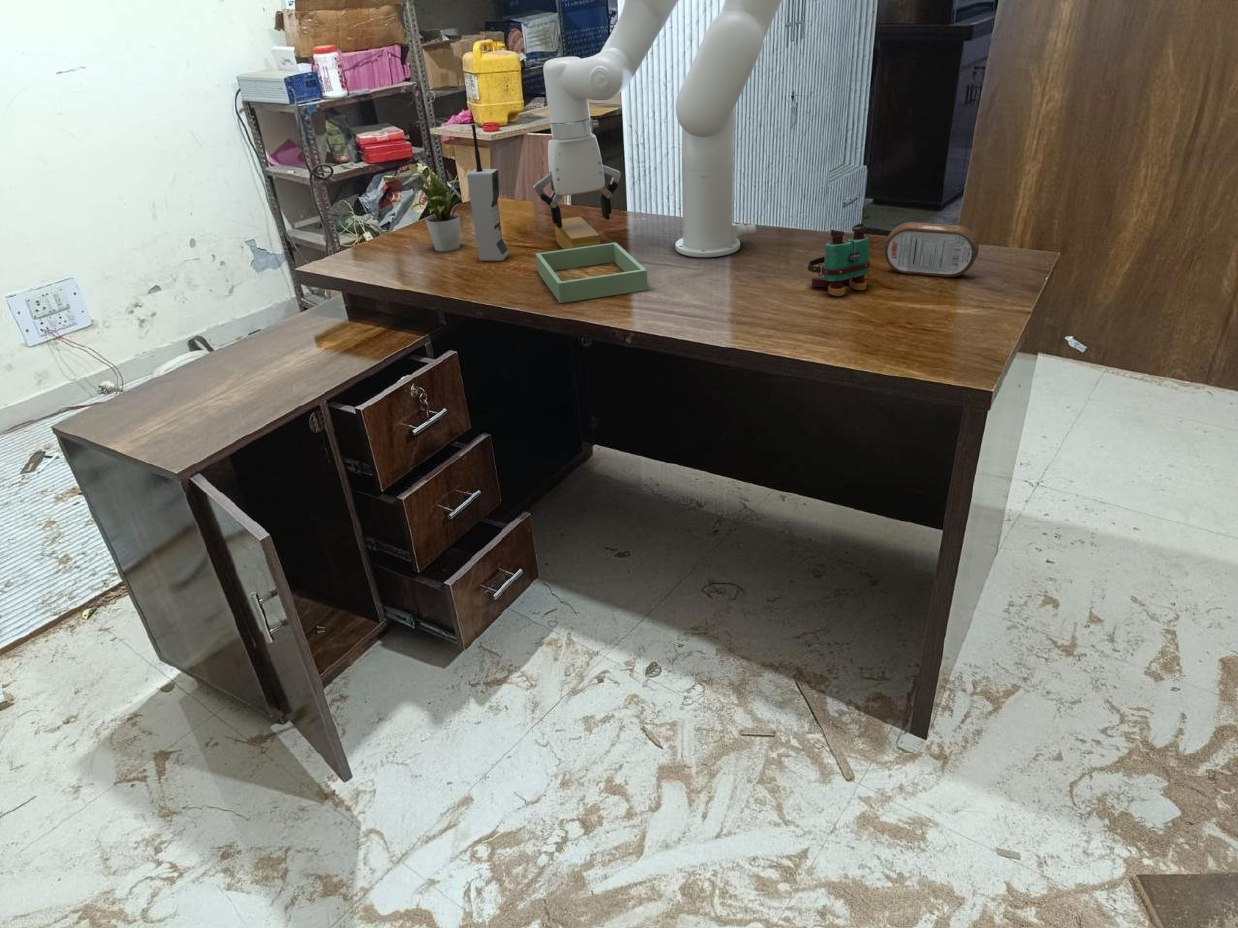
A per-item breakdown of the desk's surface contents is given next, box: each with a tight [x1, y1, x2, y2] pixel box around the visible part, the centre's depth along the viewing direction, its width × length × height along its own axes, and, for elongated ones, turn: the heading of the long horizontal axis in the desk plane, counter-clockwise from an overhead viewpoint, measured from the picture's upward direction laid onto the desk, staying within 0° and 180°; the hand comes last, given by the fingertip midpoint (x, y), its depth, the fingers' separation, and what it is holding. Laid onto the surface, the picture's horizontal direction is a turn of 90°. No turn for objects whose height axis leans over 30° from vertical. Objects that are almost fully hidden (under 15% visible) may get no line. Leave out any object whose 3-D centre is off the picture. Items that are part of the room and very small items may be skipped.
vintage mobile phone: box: [466, 123, 509, 262], centre depth 159 cm, size 4×5×25 cm
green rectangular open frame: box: [535, 241, 649, 304], centre depth 150 cm, size 16×19×4 cm
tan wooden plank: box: [554, 216, 601, 250], centre depth 167 cm, size 6×15×4 cm, turn 17°
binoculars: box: [807, 222, 871, 297], centre depth 138 cm, size 9×11×10 cm
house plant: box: [402, 166, 470, 252], centre depth 170 cm, size 14×14×16 cm
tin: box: [883, 221, 980, 278], centre depth 142 cm, size 15×3×8 cm, turn 65°
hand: (582, 222), depth 165 cm, fingers open, 9 cm apart
